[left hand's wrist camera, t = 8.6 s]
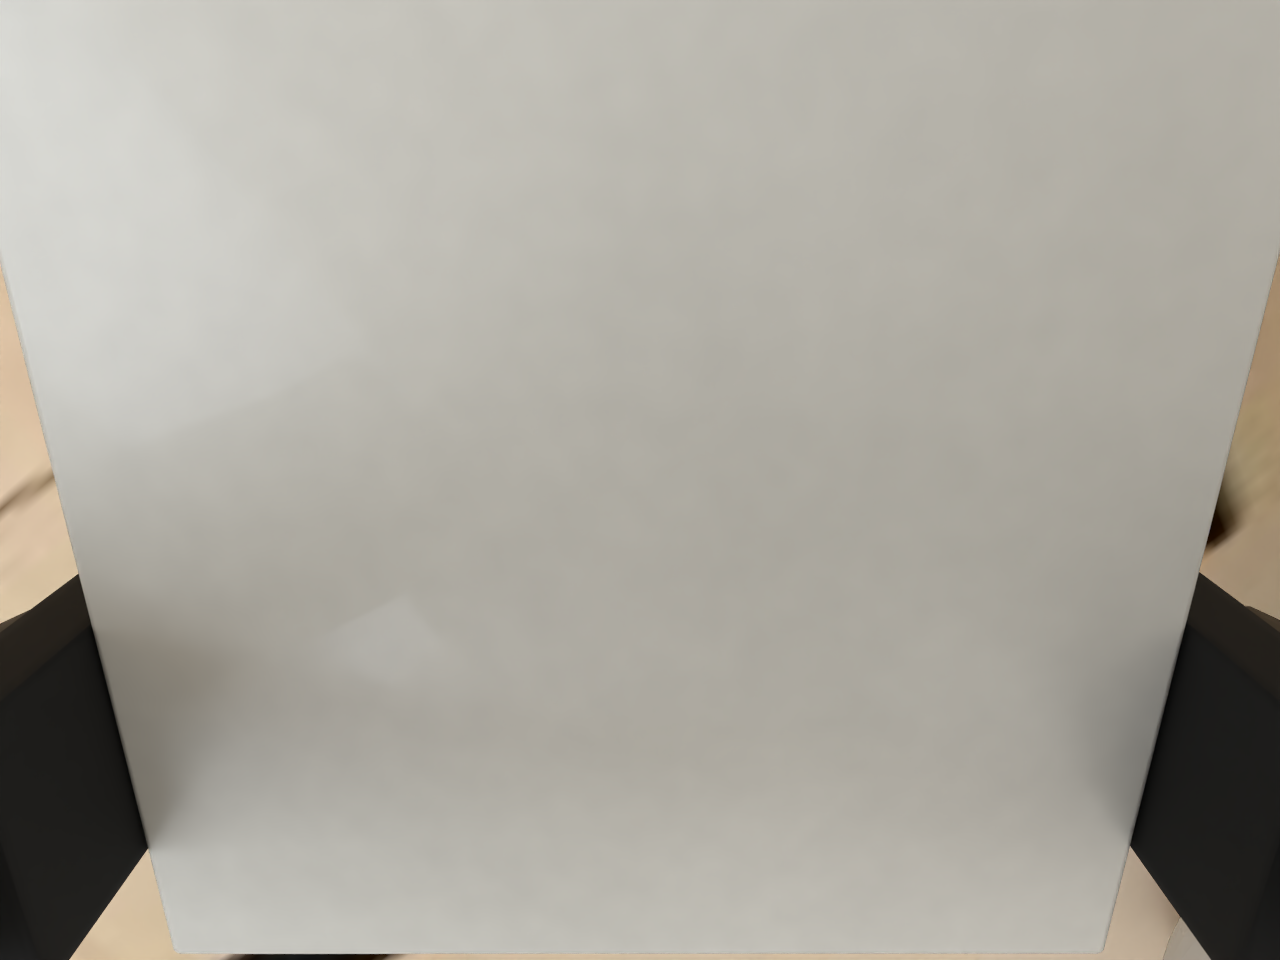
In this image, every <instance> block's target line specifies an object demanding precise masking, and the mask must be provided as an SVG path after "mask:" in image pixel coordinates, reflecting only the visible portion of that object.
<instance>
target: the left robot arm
mask: <svg viewBox="0 0 1280 960" xmlns="http://www.w3.org/2000/svg"><path fill="white" fill-rule="evenodd" d="M1130 846H1131V848H1132V849H1133V850H1134V852H1135V853H1136V855H1137V856H1138V858H1139V859H1140V860H1141V862H1142V863H1143V865H1144V866H1145V867H1146V869H1147V870H1148V872H1149V873H1150V874H1151V876H1152V877H1153V879H1154V880H1155V882H1156V883H1157V884H1158V886H1159V887H1160V889H1161V890H1162V891H1163V893H1164V894H1165V896H1166V897H1167V898H1168V900H1169V901H1170V903H1171V904H1172V906H1173V907H1174V908H1175V910H1176V911H1177V913H1178V914H1179V915H1180V917H1181V918H1182V920H1183V921H1184V922H1185V924H1186V925H1187V927H1188V928H1189V930H1190V931H1191V932H1192V934H1193V935H1194V937H1195V938H1196V939H1197V941H1198V942H1199V944H1200V945H1201V946H1202V948H1203V949H1204V951H1205V952H1206V954H1207V955H1208V956H1209V958H1210V959H1211V960H1280V620H1279V619H1276V618H1274V617H1272V616H1270V615H1268V614H1266V613H1263V612H1261V611H1259V610H1257V609H1255V608H1253V607H1250V606H1244V605H1243V604H1241V603H1240V602H1239V601H1237V600H1236V599H1235V598H1233V597H1232V596H1230V595H1229V594H1228V593H1226V592H1225V591H1224V590H1222V589H1221V588H1220V587H1218V586H1217V585H1216V584H1214V583H1213V582H1212V581H1210V580H1209V579H1208V578H1206V577H1205V576H1204V575H1202V574H1201V573H1200V572H1199V574H1198V578H1197V582H1196V586H1195V590H1194V593H1193V597H1192V601H1191V605H1190V609H1189V613H1188V617H1187V621H1186V625H1185V629H1184V633H1183V637H1182V641H1181V645H1180V649H1179V653H1178V657H1177V661H1176V665H1175V669H1174V673H1173V677H1172V681H1171V685H1170V689H1169V693H1168V696H1167V700H1166V704H1165V708H1164V712H1163V716H1162V720H1161V724H1160V728H1159V732H1158V736H1157V740H1156V744H1155V748H1154V752H1153V756H1152V760H1151V764H1150V768H1149V772H1148V776H1147V780H1146V784H1145V788H1144V792H1143V796H1142V800H1141V803H1140V807H1139V811H1138V815H1137V819H1136V823H1135V827H1134V831H1133V835H1132V839H1131V843H1130ZM147 849H148V845H147V841H146V837H145V833H144V829H143V826H142V822H141V818H140V814H139V810H138V806H137V802H136V798H135V794H134V790H133V786H132V782H131V778H130V774H129V770H128V766H127V762H126V758H125V754H124V750H123V747H122V743H121V739H120V735H119V731H118V727H117V723H116V719H115V715H114V711H113V707H112V703H111V699H110V695H109V691H108V687H107V683H106V679H105V675H104V671H103V667H102V664H101V660H100V656H99V652H98V648H97V644H96V640H95V636H94V632H93V628H92V624H91V620H90V616H89V612H88V608H87V604H86V600H85V596H84V592H83V588H82V585H81V581H80V577H79V574H78V575H76V576H75V577H74V578H72V579H71V580H70V581H68V582H67V583H66V584H64V585H63V586H62V587H60V588H59V589H58V590H56V591H55V592H54V593H52V594H51V595H50V596H48V597H47V598H46V599H44V600H43V601H41V602H40V603H39V604H37V605H36V606H35V607H33V608H32V609H31V610H29V611H27V612H24V613H22V614H20V615H18V616H16V617H14V618H11V619H9V620H7V621H5V622H3V623H1V624H0V960H69V959H70V958H71V956H72V955H73V954H74V952H75V951H76V949H77V948H78V946H79V945H80V944H81V942H82V941H83V939H84V938H85V937H86V935H87V934H88V932H89V931H90V930H91V928H92V927H93V925H94V924H95V922H96V921H97V920H98V918H99V917H100V915H101V914H102V913H103V911H104V910H105V908H106V907H107V906H108V904H109V903H110V901H111V900H112V898H113V897H114V896H115V894H116V893H117V891H118V890H119V889H120V887H121V886H122V884H123V883H124V882H125V880H126V879H127V877H128V876H129V874H130V873H131V872H132V870H133V869H134V867H135V866H136V865H137V863H138V862H139V860H140V859H141V858H142V856H143V855H144V853H145V852H146V851H147Z"/></svg>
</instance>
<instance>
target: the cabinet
mask: <svg viewBox="0 0 1280 960" xmlns="http://www.w3.org/2000/svg"><path fill="white" fill-rule="evenodd" d="M1279 253H1280V0H0V265H1V269H2V272H3V276H4V280H5V284H6V288H7V292H8V296H9V300H10V304H11V308H12V312H13V316H14V320H15V324H16V328H17V332H18V336H19V340H20V344H21V348H22V351H23V355H24V359H25V363H26V367H27V371H28V375H29V379H30V383H31V387H32V391H33V395H34V399H35V403H36V407H37V411H38V415H39V419H40V423H41V427H42V430H43V434H44V438H45V442H46V446H47V450H48V454H49V458H50V462H51V466H52V470H53V474H54V478H55V482H56V486H57V490H58V494H59V498H60V502H61V506H62V509H63V513H64V517H65V521H66V525H67V529H68V533H69V537H70V541H71V545H72V549H73V553H74V557H75V561H76V565H77V569H78V573H79V577H80V581H81V585H82V588H83V592H84V596H85V600H86V604H87V608H88V612H89V616H90V620H91V624H92V628H93V632H94V636H95V640H96V644H97V648H98V652H99V656H100V660H101V664H102V667H103V671H104V675H105V679H106V683H107V687H108V691H109V695H110V699H111V703H112V707H113V711H114V715H115V719H116V723H117V727H118V731H119V735H120V739H121V743H122V747H123V750H124V754H125V758H126V762H127V766H128V770H129V774H130V778H131V782H132V786H133V790H134V794H135V798H136V802H137V806H138V810H139V814H140V818H141V822H142V826H143V829H144V833H145V837H146V841H147V845H148V849H149V853H150V857H151V861H152V865H153V869H154V873H155V877H156V881H157V885H158V889H159V893H160V897H161V901H162V905H163V908H164V912H165V916H166V920H167V924H168V928H169V932H170V936H171V940H172V944H173V948H174V950H175V951H176V952H177V953H180V954H1097V953H1100V952H1102V951H1103V950H1104V946H1105V942H1106V938H1107V934H1108V930H1109V926H1110V922H1111V918H1112V914H1113V910H1114V906H1115V903H1116V899H1117V895H1118V891H1119V887H1120V883H1121V879H1122V875H1123V871H1124V867H1125V863H1126V859H1127V855H1128V851H1129V847H1130V843H1131V839H1132V835H1133V831H1134V827H1135V823H1136V819H1137V815H1138V811H1139V807H1140V803H1141V800H1142V796H1143V792H1144V788H1145V784H1146V780H1147V776H1148V772H1149V768H1150V764H1151V760H1152V756H1153V752H1154V748H1155V744H1156V740H1157V736H1158V732H1159V728H1160V724H1161V720H1162V716H1163V712H1164V708H1165V704H1166V700H1167V696H1168V693H1169V689H1170V685H1171V681H1172V677H1173V673H1174V669H1175V665H1176V661H1177V657H1178V653H1179V649H1180V645H1181V641H1182V637H1183V633H1184V629H1185V625H1186V621H1187V617H1188V613H1189V609H1190V605H1191V601H1192V597H1193V593H1194V590H1195V586H1196V582H1197V578H1198V574H1199V570H1200V566H1201V562H1202V558H1203V554H1204V550H1205V546H1206V542H1207V538H1208V534H1209V530H1210V526H1211V522H1212V518H1213V514H1214V510H1215V506H1216V502H1217V498H1218V494H1219V490H1220V487H1221V483H1222V479H1223V475H1224V471H1225V467H1226V463H1227V459H1228V455H1229V451H1230V447H1231V443H1232V439H1233V435H1234V431H1235V427H1236V423H1237V419H1238V415H1239V411H1240V407H1241V403H1242V399H1243V395H1244V391H1245V387H1246V384H1247V380H1248V376H1249V372H1250V368H1251V364H1252V360H1253V356H1254V352H1255V348H1256V344H1257V340H1258V336H1259V332H1260V328H1261V324H1262V320H1263V316H1264V312H1265V308H1266V304H1267V300H1268V296H1269V292H1270V288H1271V284H1272V281H1273V277H1274V273H1275V269H1276V265H1277V261H1278V257H1279Z"/></svg>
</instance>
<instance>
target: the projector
mask: <svg viewBox="0 0 1280 960" xmlns="http://www.w3.org/2000/svg"><path fill="white" fill-rule="evenodd" d="M1163 960H1211V959H1210V958H1209V956H1208V955H1207V954H1206V952H1205V951H1204V949H1203V948H1202V946H1201V945H1200V944H1199V942H1198V941H1197V939H1196V938H1195V937H1194V935H1193V934H1192V932H1191V931H1190V930H1189V928H1188V927H1187V925H1186V924H1185V922H1184V921H1183V920H1182V918H1181V917H1180V918H1179V920H1178V922H1177V924H1176V926H1175V928H1174V930H1173V932H1172V934H1171V937H1170V939H1169V942H1168V945H1167V948H1166V951H1165V954H1164V957H1163Z"/></svg>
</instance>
